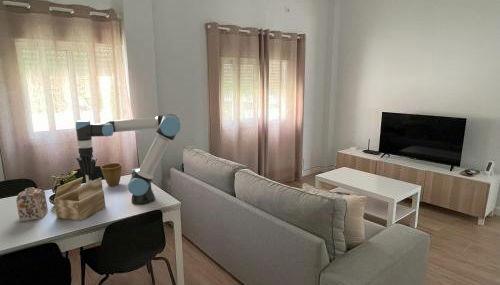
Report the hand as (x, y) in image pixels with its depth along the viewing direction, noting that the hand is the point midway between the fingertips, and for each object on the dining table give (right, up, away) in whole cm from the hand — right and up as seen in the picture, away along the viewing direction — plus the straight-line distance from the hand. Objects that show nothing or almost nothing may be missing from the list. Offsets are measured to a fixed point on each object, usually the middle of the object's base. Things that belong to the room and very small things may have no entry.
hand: (89, 184), depth 184 cm
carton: (-8, -18, +6) cm, 21 cm away
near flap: (0, -3, 0) cm, 3 cm away
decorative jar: (-35, -20, +2) cm, 40 cm away
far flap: (-15, -2, +4) cm, 15 cm away
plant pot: (-10, -8, +55) cm, 56 cm away
